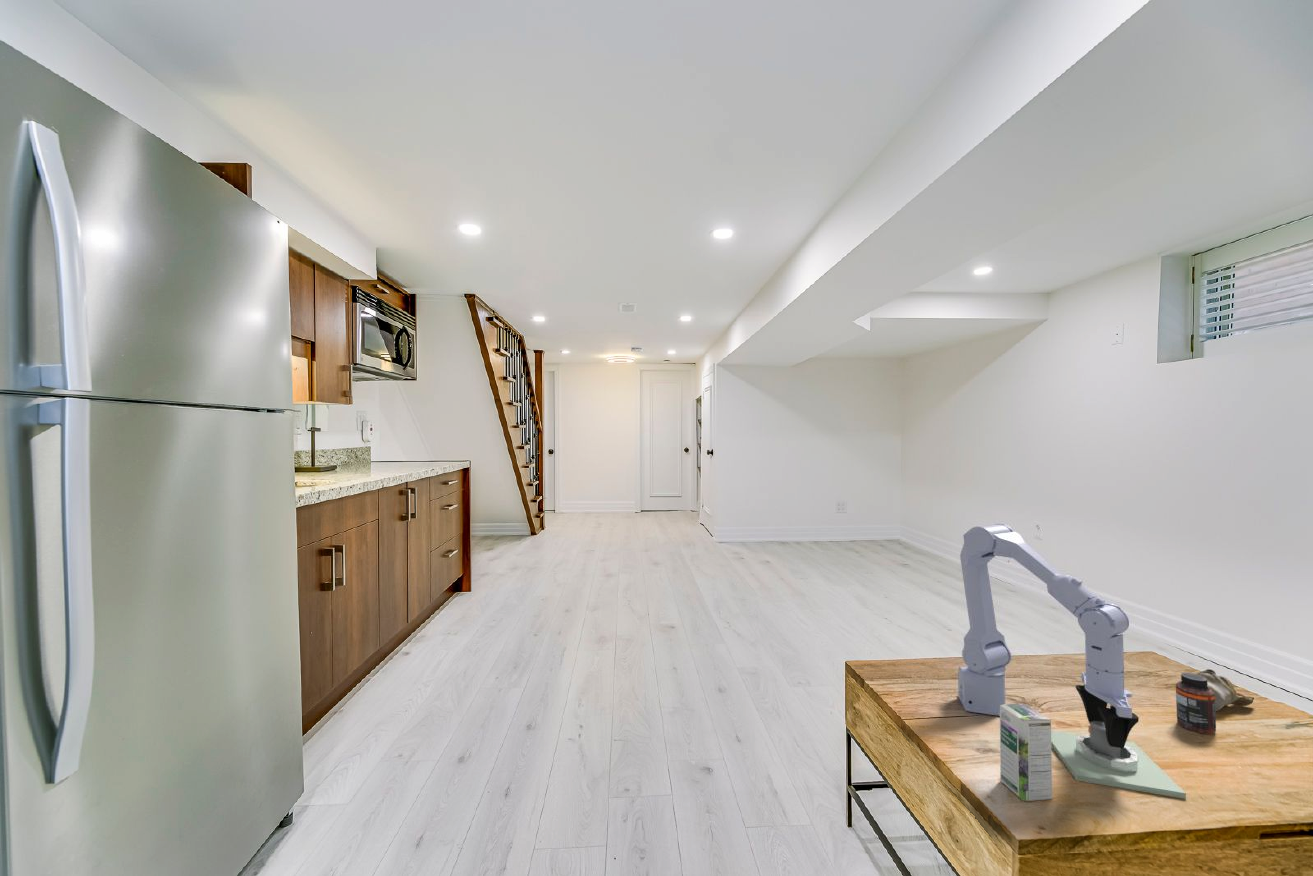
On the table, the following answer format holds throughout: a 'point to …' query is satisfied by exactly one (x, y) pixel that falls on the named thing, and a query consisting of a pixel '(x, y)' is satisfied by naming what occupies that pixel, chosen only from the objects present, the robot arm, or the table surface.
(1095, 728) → the grey rounded block
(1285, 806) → the table surface
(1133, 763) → the duct collar
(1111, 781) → the plate
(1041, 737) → the syrup box
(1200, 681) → the supplement bottle
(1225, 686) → the ceramic sculpture
